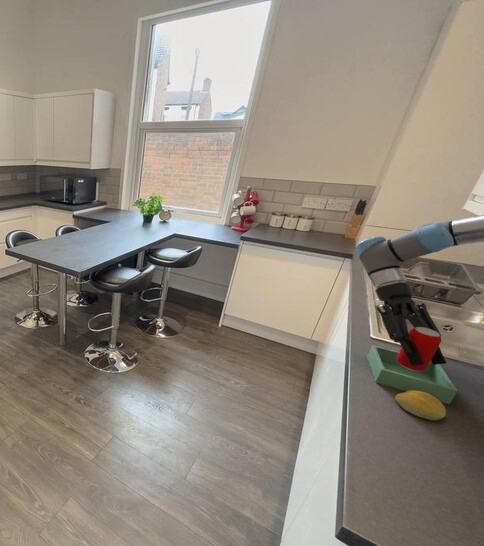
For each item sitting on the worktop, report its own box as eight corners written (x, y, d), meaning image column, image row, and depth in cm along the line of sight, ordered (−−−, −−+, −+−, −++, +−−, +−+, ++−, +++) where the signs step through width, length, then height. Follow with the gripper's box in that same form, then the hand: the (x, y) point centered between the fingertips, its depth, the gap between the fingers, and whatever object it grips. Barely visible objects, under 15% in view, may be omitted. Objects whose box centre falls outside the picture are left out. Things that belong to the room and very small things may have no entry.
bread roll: (387, 401, 82) (393, 389, 81) (409, 394, 85) (415, 382, 83) (428, 425, 75) (435, 413, 73) (451, 417, 77) (458, 405, 76)
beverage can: (430, 372, 87) (450, 336, 82) (412, 374, 86) (431, 338, 82) (405, 359, 93) (423, 324, 88) (388, 360, 92) (405, 325, 87)
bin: (431, 374, 93) (437, 361, 91) (449, 404, 81) (457, 390, 80) (366, 356, 100) (372, 344, 98) (375, 382, 89) (381, 369, 87)
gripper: (405, 289, 98) (443, 364, 89) (350, 290, 96) (384, 367, 87) (432, 280, 91) (476, 361, 82) (374, 282, 89) (413, 364, 80)
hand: (429, 364), depth 85 cm, fingers closed on beverage can, 6 cm apart
